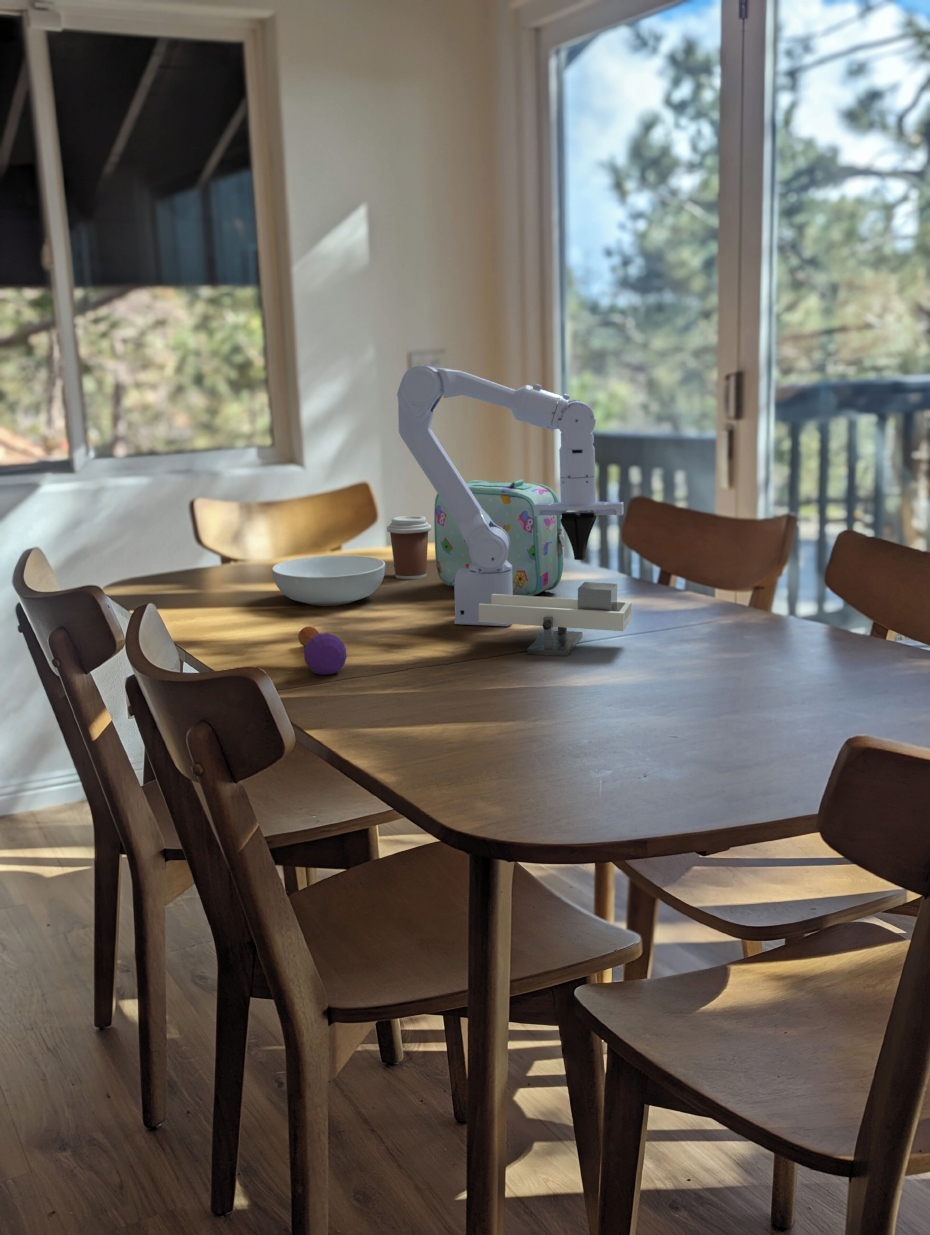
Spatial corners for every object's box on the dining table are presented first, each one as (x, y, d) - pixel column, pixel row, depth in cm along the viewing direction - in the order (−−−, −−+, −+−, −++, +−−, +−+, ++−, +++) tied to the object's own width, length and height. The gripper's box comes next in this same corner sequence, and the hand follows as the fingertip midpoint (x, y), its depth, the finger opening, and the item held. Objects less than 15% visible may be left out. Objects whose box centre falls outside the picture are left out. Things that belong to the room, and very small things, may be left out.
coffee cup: (379, 578, 232) (377, 519, 229) (405, 570, 239) (403, 514, 236) (417, 582, 227) (414, 522, 224) (441, 574, 234) (439, 516, 232)
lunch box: (574, 593, 212) (574, 478, 207) (541, 603, 204) (540, 484, 199) (464, 579, 229) (461, 472, 224) (430, 587, 221) (426, 477, 216)
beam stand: (527, 654, 170) (526, 618, 169) (545, 634, 181) (544, 601, 180) (566, 656, 168) (566, 619, 167) (582, 636, 179) (582, 602, 178)
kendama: (329, 620, 179) (352, 638, 160) (325, 657, 180) (346, 680, 161) (292, 616, 177) (310, 634, 158) (287, 653, 178) (304, 676, 159)
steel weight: (577, 617, 170) (577, 588, 169) (584, 610, 175) (584, 581, 174) (610, 620, 169) (611, 590, 168) (616, 612, 173) (617, 583, 172)
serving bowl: (252, 609, 206) (249, 572, 205) (309, 587, 225) (307, 553, 223) (354, 616, 198) (352, 577, 197) (405, 592, 217) (404, 557, 216)
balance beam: (478, 621, 173) (478, 604, 172) (492, 610, 181) (492, 593, 180) (623, 631, 167) (623, 613, 166) (631, 619, 174) (631, 601, 174)
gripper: (528, 479, 183) (531, 563, 186) (618, 478, 179) (619, 563, 182) (538, 475, 190) (541, 555, 193) (625, 473, 186) (626, 555, 189)
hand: (579, 558), depth 188 cm, fingers closed
